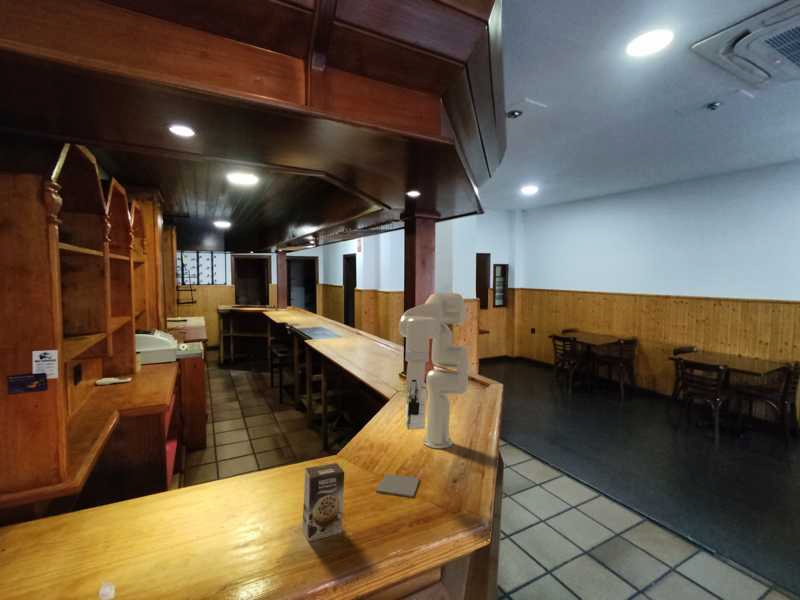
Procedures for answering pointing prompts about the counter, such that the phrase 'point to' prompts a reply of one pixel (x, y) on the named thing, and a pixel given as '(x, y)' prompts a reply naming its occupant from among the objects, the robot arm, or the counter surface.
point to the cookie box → (323, 501)
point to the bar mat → (398, 485)
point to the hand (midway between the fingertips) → (415, 410)
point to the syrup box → (419, 420)
